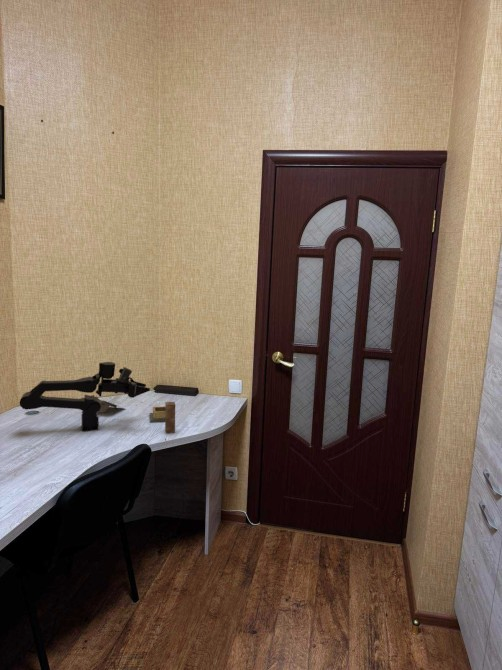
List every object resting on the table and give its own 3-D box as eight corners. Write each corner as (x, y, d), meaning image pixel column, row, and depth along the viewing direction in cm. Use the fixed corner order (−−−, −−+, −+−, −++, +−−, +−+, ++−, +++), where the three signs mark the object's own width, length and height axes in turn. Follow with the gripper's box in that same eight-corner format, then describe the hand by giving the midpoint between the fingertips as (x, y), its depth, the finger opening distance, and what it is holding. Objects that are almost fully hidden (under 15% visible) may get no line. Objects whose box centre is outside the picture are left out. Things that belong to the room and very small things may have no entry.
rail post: (165, 433, 198) (166, 404, 196) (165, 430, 202) (165, 402, 200) (174, 432, 199) (175, 404, 197) (174, 429, 203) (174, 401, 201)
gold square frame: (150, 422, 210) (150, 413, 210) (149, 414, 221) (149, 406, 220) (174, 421, 213) (174, 412, 212) (172, 413, 223) (172, 405, 223)
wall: (90, 415, 229) (77, 402, 216) (99, 399, 233) (87, 387, 220) (117, 424, 224) (106, 412, 212) (126, 409, 228) (115, 396, 216)
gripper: (117, 371, 192) (154, 373, 199) (112, 364, 209) (145, 366, 216) (114, 397, 193) (151, 398, 199) (109, 388, 210) (143, 389, 216)
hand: (147, 387), depth 208 cm, fingers open, 9 cm apart
